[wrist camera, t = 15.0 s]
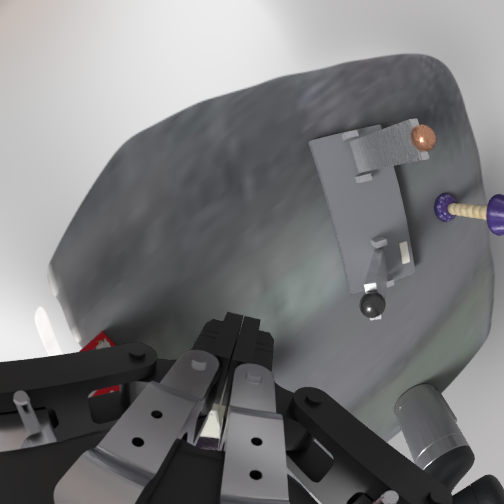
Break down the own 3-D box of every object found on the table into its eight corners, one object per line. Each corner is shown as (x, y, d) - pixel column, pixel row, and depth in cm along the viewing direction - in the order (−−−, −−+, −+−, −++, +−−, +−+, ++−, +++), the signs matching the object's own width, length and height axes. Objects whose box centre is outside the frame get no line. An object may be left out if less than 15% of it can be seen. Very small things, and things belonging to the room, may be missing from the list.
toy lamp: (432, 190, 35) (506, 197, 18) (455, 188, 34) (530, 195, 18) (434, 222, 36) (507, 246, 19) (457, 219, 35) (530, 240, 19)
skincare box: (204, 357, 44) (183, 406, 32) (231, 359, 44) (216, 410, 32) (208, 386, 45) (190, 435, 34) (234, 388, 45) (221, 439, 33)
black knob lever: (375, 276, 36) (360, 330, 25) (369, 248, 36) (353, 293, 25) (393, 273, 35) (386, 327, 24) (388, 245, 34) (381, 290, 23)
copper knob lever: (352, 174, 33) (431, 159, 20) (343, 143, 32) (417, 115, 19) (368, 170, 33) (446, 155, 20) (358, 140, 33) (433, 114, 20)
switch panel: (348, 289, 39) (355, 300, 35) (308, 143, 35) (311, 138, 31) (409, 269, 38) (421, 277, 34) (375, 127, 34) (385, 121, 30)
